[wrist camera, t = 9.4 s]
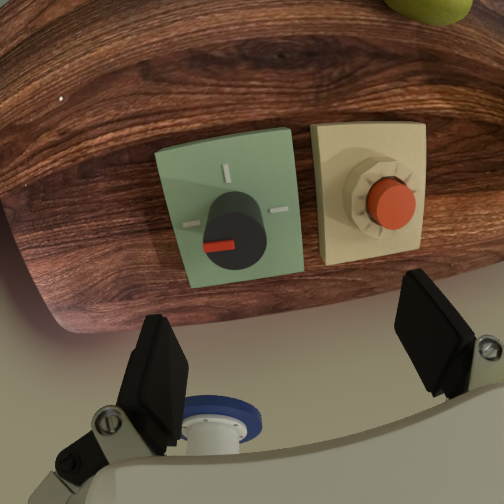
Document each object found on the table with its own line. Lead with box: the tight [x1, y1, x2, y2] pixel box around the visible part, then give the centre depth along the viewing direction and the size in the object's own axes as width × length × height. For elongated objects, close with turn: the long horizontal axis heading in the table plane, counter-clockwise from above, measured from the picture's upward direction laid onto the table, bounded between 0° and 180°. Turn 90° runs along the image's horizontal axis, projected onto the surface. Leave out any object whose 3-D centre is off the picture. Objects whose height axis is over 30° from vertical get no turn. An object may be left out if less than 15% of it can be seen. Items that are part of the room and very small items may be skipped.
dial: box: [203, 191, 267, 270], centre depth 20 cm, size 4×4×5 cm
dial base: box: [155, 127, 304, 288], centre depth 23 cm, size 12×10×3 cm
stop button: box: [367, 179, 416, 230], centre depth 20 cm, size 4×4×2 cm
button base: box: [310, 121, 426, 266], centre depth 22 cm, size 12×10×4 cm
